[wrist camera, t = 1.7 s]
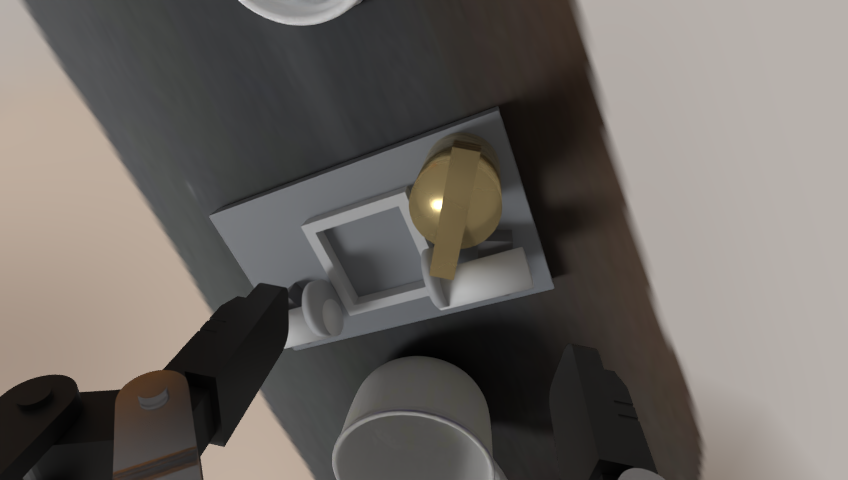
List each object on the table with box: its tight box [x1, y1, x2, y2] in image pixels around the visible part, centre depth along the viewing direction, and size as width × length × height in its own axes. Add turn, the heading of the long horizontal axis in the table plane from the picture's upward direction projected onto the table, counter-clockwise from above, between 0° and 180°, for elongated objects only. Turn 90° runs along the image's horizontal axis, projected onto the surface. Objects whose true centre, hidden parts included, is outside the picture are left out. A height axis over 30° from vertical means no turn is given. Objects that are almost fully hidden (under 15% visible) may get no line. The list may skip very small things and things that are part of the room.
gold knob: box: [409, 132, 502, 280], centre depth 23 cm, size 6×4×7 cm
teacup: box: [332, 356, 507, 480], centre depth 33 cm, size 14×11×8 cm
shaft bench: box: [209, 106, 554, 351], centre depth 28 cm, size 20×12×6 cm, turn 112°
